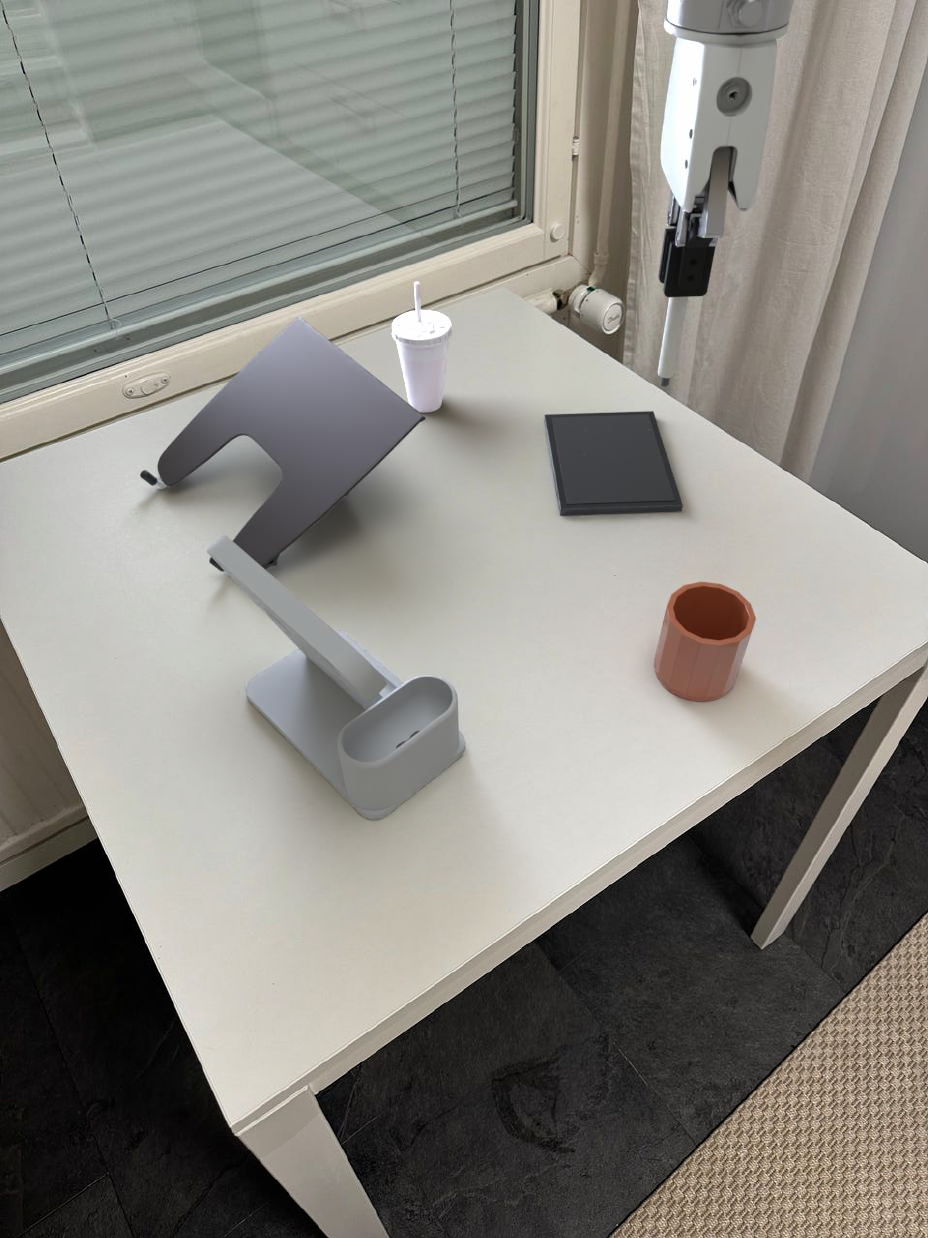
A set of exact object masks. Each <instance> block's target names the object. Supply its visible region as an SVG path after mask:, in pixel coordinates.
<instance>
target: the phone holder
mask: <svg viewBox="0 0 928 1238" xmlns="http://www.w3.org/2000/svg"><path fill="white" fill-rule="evenodd" d="M206 553H207V554H208V555H209V556H210V558H211V557H212V558H213V559H214V560H215V561H216V562H217V563H218V564H219V565H220V566H221V568H222V569H223V570H224V571H225V572H226V573H227V574H226V575H228V576H229V577H230V578H231V579H232V580H233V581H234V583H235V584H236V585H238V587H239V588H240V589H241V590H242V591H243V592H244V593H245V594H246V595H247V596H248V597H249V598H250V599H251V600H252V602H254V604H255V605H256V606H258V608H260V609H261V611H263V613H264V614H265V615H266V616H267V617H268V618H269V619H270V620H271V621H272V622H273V623H274V624H275V625H276V626H277V628H279V630H280V631H281V632H282V633H283V634H284V635H285V636H286V637H287V638H288V639H289V640H290V641H291V642H292V643H293V644H294V645H295V646H296V647H297V649H295V650H294V651H292V652H291V653H289V654H288V655H286V656H285V657H283V658H282V659H280V660H278V661H276V662H275V663H274V664H272V665H271V666H269V667H268V668H266V669H264V670H262V671H261V672H260V673H258V674H257V675H255V676H253V677H252V678H250V679H249V681H248V682H247V684H246V686H245V694H246V697H247V700H248V702H249V703H250V704H251V705H252V706H253V707H254V708H255V709H256V710H257V711H258V712H259V713H260V714H261V715H262V716H263V717H264V718H265V719H266V720H267V721H268V722H269V723H270V724H271V725H272V726H273V727H274V728H275V729H276V730H277V731H278V733H280V734H281V736H283V737H284V738H285V739H286V740H287V742H288V743H290V744H291V745H292V747H293V748H295V749H296V750H297V752H299V754H300V755H302V757H303V758H304V759H305V760H306V761H307V762H308V763H309V764H310V765H311V766H312V767H313V768H314V769H315V770H316V771H317V772H318V773H319V774H320V775H321V776H322V777H323V778H324V779H325V781H327V782H328V783H329V784H330V785H331V786H332V787H333V788H334V789H335V790H336V791H337V793H338V794H340V795H341V797H343V798H344V799H345V800H346V801H347V803H348V804H349V805H350V806H351V807H352V808H353V809H355V810H356V812H357V813H358V814H359V815H361V816H362V817H363V818H364V819H367V820H370V821H371V820H372V821H378V820H381V819H385V818H386V817H388V816H389V815H390V814H392V813H393V812H394V811H395V810H396V809H398V808H399V807H401V806H402V805H403V804H405V802H406V801H408V800H409V799H411V798H412V797H413V796H414V795H415V794H417V793H418V792H419V791H420V790H422V789H423V788H424V787H426V786H427V785H428V784H429V783H430V782H432V781H433V780H434V779H435V778H437V777H438V776H439V775H441V774H442V773H443V772H444V771H446V770H447V769H448V768H449V767H451V766H452V765H453V764H454V763H456V762H457V761H458V760H459V759H460V758H462V756H463V755H464V753H465V751H466V739H465V737H464V734H463V733H462V732H461V731H460V729H459V699H458V698H459V697H458V693H457V690H456V688H455V687H454V686H453V684H452V683H451V682H450V681H448V680H447V679H446V678H444V677H440V676H438V675H434V674H421V675H417V676H414V677H411V678H410V679H407V680H406V681H405V682H403V680H401V679H400V678H399V677H398V676H397V675H395V674H394V673H393V672H392V671H391V670H389V668H387V667H386V666H385V665H384V664H383V663H382V662H381V661H379V660H378V659H377V658H376V657H375V656H373V654H371V653H370V652H368V650H366V649H365V648H364V647H363V646H362V645H361V644H360V643H359V642H357V641H356V640H355V639H354V638H353V637H351V636H350V635H349V634H348V633H347V632H346V631H344V630H341V629H334V628H333V627H331V626H330V625H329V624H328V623H327V622H326V621H324V620H323V619H322V618H321V617H320V616H319V615H318V614H316V613H315V611H313V610H312V609H311V608H310V607H308V606H307V605H306V603H304V602H303V601H302V600H301V599H299V598H298V597H297V596H296V595H295V594H294V593H293V592H291V591H290V590H289V589H288V588H287V587H286V586H285V585H283V584H282V583H281V582H280V581H279V580H278V579H277V578H275V577H274V576H273V575H272V574H271V573H270V572H268V571H267V569H264V568H263V567H261V566H260V565H259V564H258V563H257V562H256V561H255V560H253V559H252V558H251V557H250V556H249V555H248V554H247V553H245V552H244V551H243V550H242V549H241V548H240V547H239V546H237V545H236V544H235V543H234V542H233V540H232V539H231V538H229V537H228V536H227V535H226V534H225V533H223V534H221V536H219V538H217V540H216V541H215V542H214V543H212V545H210V546H209V547H208V548H207V549H206Z"/></svg>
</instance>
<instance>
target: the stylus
mask: <svg viewBox="0 0 928 1238" xmlns="http://www.w3.org/2000/svg"><path fill="white" fill-rule="evenodd" d="M701 216H702V214H691V217H690V221H691V219H692V218H693V217H701ZM688 302H689V297H668V304H667V310H666V317H665V323H664V329H663V336H662V343H661V349H660V354H659V355H660V356H659V361H658V368H657V375H658V376H659V377H660V382H659V384H660V386H661V387H668V386H669V385H670V380H671V379H672V378H673V377H675V375H676V369H677V364H678V359H679V358H678V357H679V354H680V352H679V351H680V347H681V341H682V335H683V330H684V325H685V318H686V312H687V307H688Z"/></svg>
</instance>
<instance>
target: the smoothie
mask: <svg viewBox="0 0 928 1238" xmlns="http://www.w3.org/2000/svg"><path fill="white" fill-rule="evenodd" d="M413 287H414V289H413V290H414V304H415V310H410V311H407V312H404V313H402V314H400V315H398V316H397V317H396V318H395V319H394V320H393V322H392V323H391V329H392V331H391V336H392V338H393V340H394V341H395V342H396V347H397V352H398V356H399V361H400V366H401V371H402V375H403V381H404V385H405V390H406V396H407V402H408V404H410V405H411V406H412V407H413V408H415V409H416V410H417V411H418V412H420V413H421V414H422V413H423V414H425V413H432V412H435V411H437V410H439V409H440V408H441V407H442V405H443V396H444V387H445V377H446V369H447V360H448V350H449V340H450V339H451V338H452V336H453V328H452V327H453V326H452V321H451V319H450V318H449V317H448V316H447V315H445V314H444V313H442V312H439V311H435V310H430V309H422V308H421V307H422V305H421V284H420V281H414V282H413Z"/></svg>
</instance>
